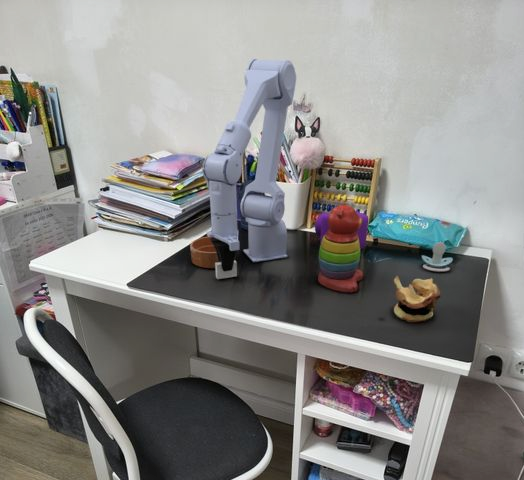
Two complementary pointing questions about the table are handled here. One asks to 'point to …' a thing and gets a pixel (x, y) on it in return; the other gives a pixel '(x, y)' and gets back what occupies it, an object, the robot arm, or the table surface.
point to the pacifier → (437, 259)
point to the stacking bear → (341, 251)
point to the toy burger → (416, 298)
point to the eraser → (225, 274)
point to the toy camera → (323, 227)
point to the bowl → (203, 253)
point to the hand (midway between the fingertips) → (226, 268)
